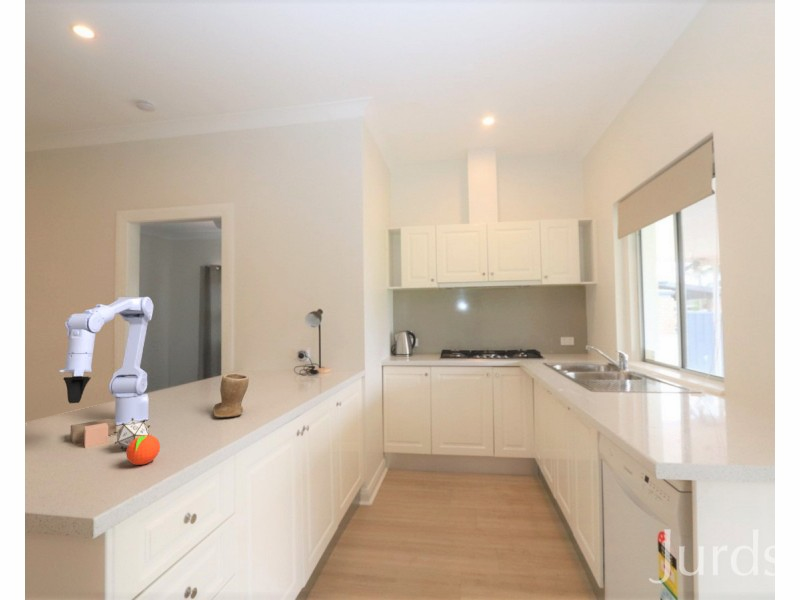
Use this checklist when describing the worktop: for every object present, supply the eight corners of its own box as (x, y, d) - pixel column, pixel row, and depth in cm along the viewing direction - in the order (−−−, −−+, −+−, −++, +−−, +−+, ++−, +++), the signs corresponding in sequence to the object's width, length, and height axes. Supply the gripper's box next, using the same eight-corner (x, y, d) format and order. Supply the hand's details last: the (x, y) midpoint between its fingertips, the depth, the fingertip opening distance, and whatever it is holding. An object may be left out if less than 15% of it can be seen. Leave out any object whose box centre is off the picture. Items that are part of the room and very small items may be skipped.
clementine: (152, 469, 87) (153, 439, 87) (118, 473, 85) (119, 442, 85) (163, 456, 94) (164, 429, 95) (133, 460, 92) (133, 432, 93)
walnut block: (111, 430, 118) (112, 418, 118) (116, 436, 112) (116, 423, 112) (70, 438, 110) (70, 425, 111) (72, 444, 105) (73, 430, 105)
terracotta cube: (106, 439, 108) (106, 422, 109) (107, 443, 105) (108, 426, 105) (84, 443, 105) (84, 426, 105) (85, 448, 101) (85, 430, 101)
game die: (141, 460, 101) (165, 430, 103) (110, 460, 94) (137, 428, 95) (129, 439, 106) (152, 411, 107) (98, 438, 98) (124, 407, 100)
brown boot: (249, 417, 130) (249, 375, 131) (212, 421, 125) (212, 378, 126) (247, 407, 144) (247, 369, 145) (213, 411, 139) (214, 372, 140)
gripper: (61, 355, 107) (54, 402, 105) (61, 352, 97) (54, 405, 94) (91, 355, 112) (86, 400, 110) (95, 353, 102) (89, 402, 99)
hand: (73, 402), depth 102 cm, fingers open, 7 cm apart
